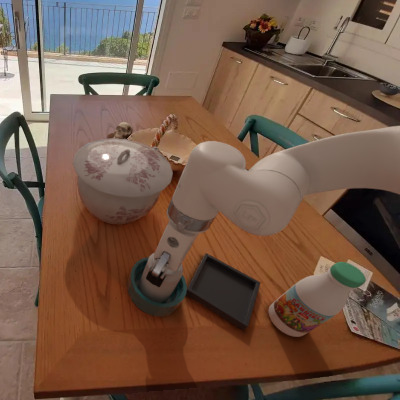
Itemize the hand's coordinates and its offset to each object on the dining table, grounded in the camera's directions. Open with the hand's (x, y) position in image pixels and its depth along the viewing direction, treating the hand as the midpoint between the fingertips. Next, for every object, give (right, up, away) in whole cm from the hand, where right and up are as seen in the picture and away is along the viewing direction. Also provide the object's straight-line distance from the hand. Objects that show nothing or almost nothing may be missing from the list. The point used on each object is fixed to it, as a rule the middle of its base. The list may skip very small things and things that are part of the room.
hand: (162, 266), depth 58 cm
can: (0, -7, +6) cm, 10 cm away
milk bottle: (+29, -13, +3) cm, 32 cm away
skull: (0, +40, +59) cm, 71 cm away
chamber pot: (-7, +12, +28) cm, 31 cm away
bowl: (0, -7, +7) cm, 10 cm away
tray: (+17, -8, +8) cm, 20 cm away
